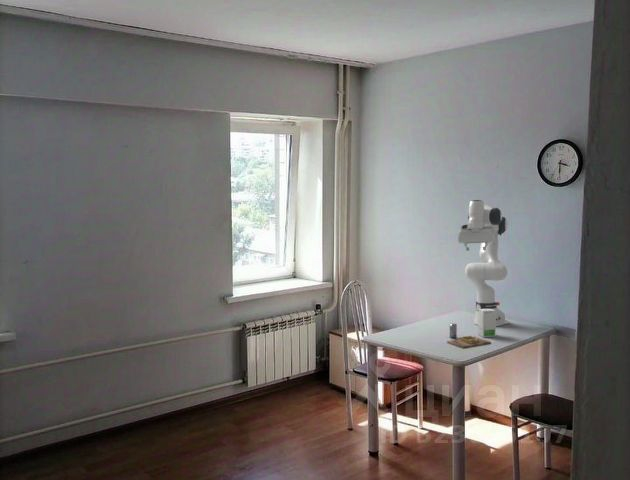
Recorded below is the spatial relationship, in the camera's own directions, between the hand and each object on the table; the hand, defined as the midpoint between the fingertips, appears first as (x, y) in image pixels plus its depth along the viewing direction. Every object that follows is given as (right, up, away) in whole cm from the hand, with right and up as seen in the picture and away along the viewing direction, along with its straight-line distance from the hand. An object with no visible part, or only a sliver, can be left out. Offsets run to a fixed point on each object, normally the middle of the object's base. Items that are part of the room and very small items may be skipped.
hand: (475, 250), depth 338 cm
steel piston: (-12, -51, +6) cm, 52 cm away
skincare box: (+9, -50, +9) cm, 52 cm away
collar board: (-6, -52, -6) cm, 52 cm away
